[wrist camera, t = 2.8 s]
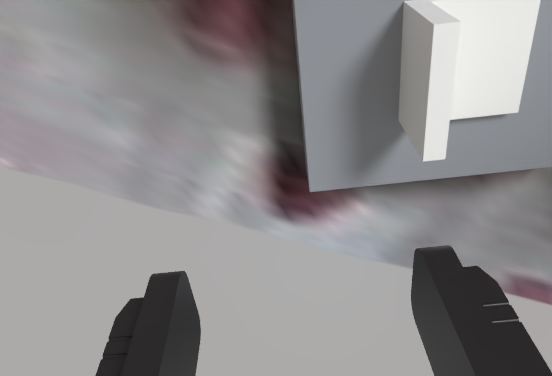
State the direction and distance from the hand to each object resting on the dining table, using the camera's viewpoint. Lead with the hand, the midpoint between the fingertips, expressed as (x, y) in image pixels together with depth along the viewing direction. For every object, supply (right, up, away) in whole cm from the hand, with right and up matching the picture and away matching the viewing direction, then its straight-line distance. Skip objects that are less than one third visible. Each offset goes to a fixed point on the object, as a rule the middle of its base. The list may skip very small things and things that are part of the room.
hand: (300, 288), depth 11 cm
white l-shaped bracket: (+9, +9, +12) cm, 17 cm away
